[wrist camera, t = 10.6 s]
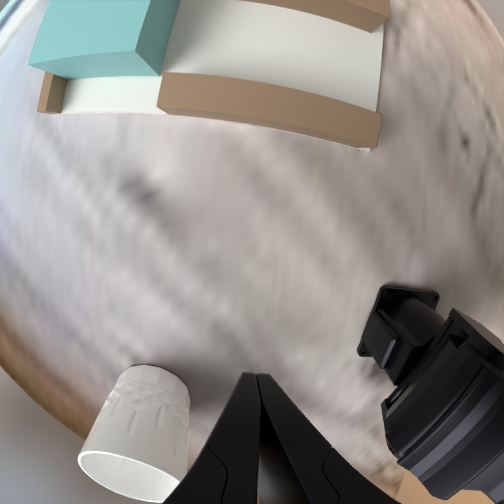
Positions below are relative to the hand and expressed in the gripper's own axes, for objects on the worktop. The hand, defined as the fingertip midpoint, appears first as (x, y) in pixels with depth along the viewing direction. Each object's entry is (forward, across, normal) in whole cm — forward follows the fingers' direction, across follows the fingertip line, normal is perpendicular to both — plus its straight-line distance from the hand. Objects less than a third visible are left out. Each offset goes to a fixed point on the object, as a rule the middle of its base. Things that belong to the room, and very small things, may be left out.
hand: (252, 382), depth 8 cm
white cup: (+12, +6, +14) cm, 20 cm away
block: (+11, +10, -14) cm, 21 cm away
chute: (+12, +4, -14) cm, 19 cm away
